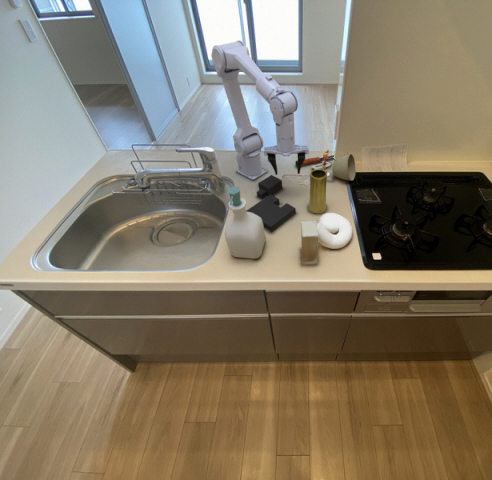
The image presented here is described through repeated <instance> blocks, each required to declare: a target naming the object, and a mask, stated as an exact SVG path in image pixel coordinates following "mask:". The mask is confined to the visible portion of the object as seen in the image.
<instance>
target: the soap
mask: <svg viewBox="0 0 492 480" xmlns="http://www.w3.org/2000/svg"><path fill="white" fill-rule="evenodd" d="M325 165H326V166H325V168H329V167H330V166H332V165H333V163H332V162H330V161H326V164H325ZM310 168H311V169H313V170H315V169H322V162H320V163H319V162H318V163H316V164H311V165H310Z"/></svg>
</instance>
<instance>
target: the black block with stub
mask: <svg viewBox="0 0 492 480" xmlns="http://www.w3.org/2000/svg"><path fill="white" fill-rule="evenodd" d="M257 185H258V190H256V196H257V198H259V199H261V200H263V199H264V198H266V197H267V196H269V195H270V194H271V195H273V196H274V195H276V194H277V193H279V192H281V191H282V190H283V180H282V179H280V178H278V177H276V176H274V175H273V174H270V175H269V176H267V177H266V178H264V179H262V180H260V181H259V182H257Z"/></svg>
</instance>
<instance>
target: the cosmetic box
mask: <svg viewBox="0 0 492 480" xmlns="http://www.w3.org/2000/svg"><path fill="white" fill-rule="evenodd" d="M317 223H318V222H317V220H315V219H314V220H313V219H312V220H301V221H300V224H301V225H300V234H301V235H300V239H301V240H300V241H301V261H302V265H317V264H318V252H319V251H318V250H319V241H318V229H317Z"/></svg>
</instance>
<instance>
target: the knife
mask: <svg viewBox="0 0 492 480" xmlns="http://www.w3.org/2000/svg"><path fill="white" fill-rule="evenodd" d="M334 155H335V154H333V155H328V158H327V159H330V158H335V157H334ZM319 162H322V157H319V156H316V157H310V158H309V157H308V158H305V160H304V162H303V164H302V166H307V165H313V164H315V163H316V164H317V163H319ZM294 164H295V166H296V167H297V166H298V160H295V163H294Z"/></svg>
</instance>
